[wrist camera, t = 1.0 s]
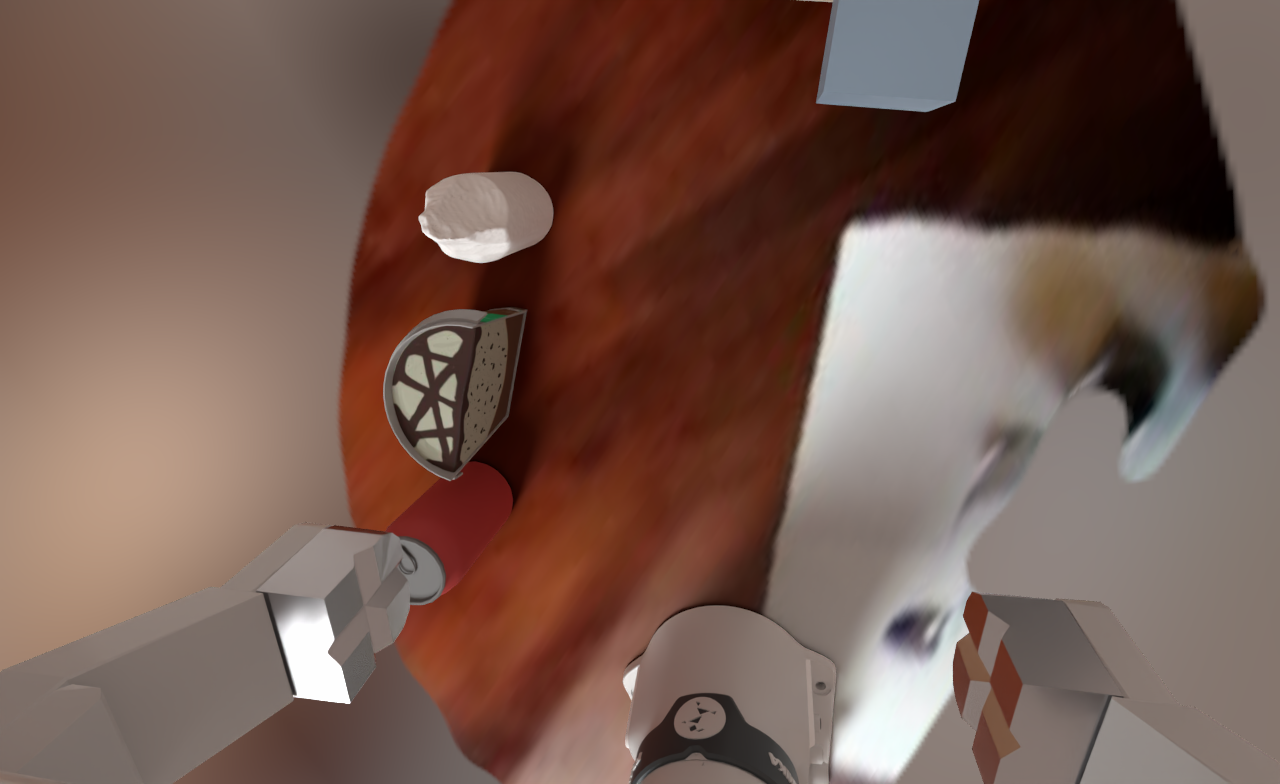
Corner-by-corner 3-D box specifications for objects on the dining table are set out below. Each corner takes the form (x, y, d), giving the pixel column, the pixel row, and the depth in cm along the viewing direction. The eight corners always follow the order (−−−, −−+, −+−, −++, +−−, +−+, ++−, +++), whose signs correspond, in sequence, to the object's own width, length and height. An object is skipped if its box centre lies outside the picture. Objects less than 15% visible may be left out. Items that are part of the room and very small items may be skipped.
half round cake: (456, 269, 50) (383, 292, 41) (530, 290, 49) (473, 319, 40) (437, 411, 54) (368, 461, 45) (505, 432, 54) (449, 487, 44)
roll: (494, 191, 35) (476, 289, 37) (561, 185, 46) (545, 260, 48) (394, 159, 36) (382, 257, 38) (484, 161, 47) (471, 237, 49)
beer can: (500, 451, 54) (430, 524, 43) (526, 519, 56) (464, 606, 45) (434, 465, 56) (350, 539, 45) (461, 530, 58) (386, 617, 47)
